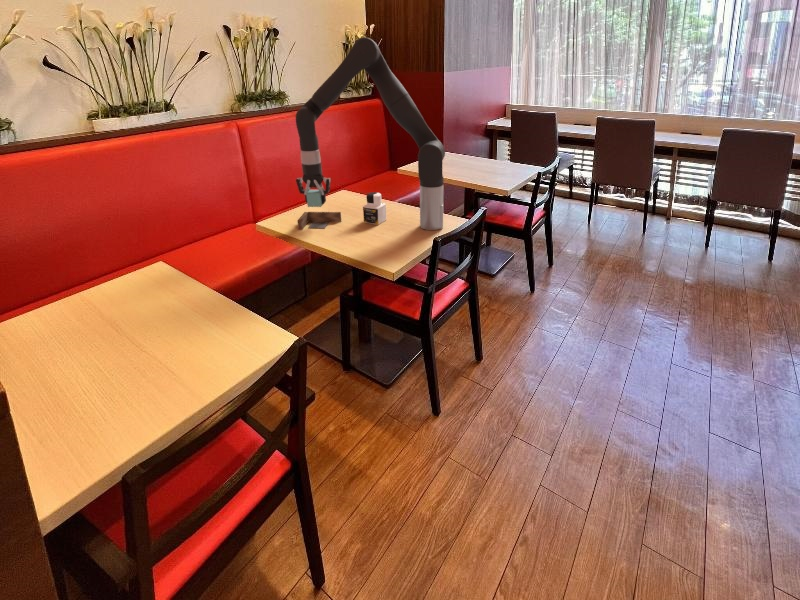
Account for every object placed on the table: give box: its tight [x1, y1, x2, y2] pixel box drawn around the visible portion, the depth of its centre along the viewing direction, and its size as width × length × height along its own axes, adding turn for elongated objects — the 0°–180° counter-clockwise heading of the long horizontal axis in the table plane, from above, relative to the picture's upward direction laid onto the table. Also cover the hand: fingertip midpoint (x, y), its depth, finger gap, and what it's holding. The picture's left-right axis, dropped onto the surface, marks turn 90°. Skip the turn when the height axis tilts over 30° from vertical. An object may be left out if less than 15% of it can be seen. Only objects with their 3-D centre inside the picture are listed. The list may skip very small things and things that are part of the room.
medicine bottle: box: [362, 191, 387, 226], centre depth 201 cm, size 7×7×12 cm
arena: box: [296, 211, 342, 231], centre depth 201 cm, size 16×11×4 cm
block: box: [306, 189, 324, 208], centre depth 196 cm, size 6×6×6 cm
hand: (315, 203), depth 197 cm, fingers closed on block, 5 cm apart
